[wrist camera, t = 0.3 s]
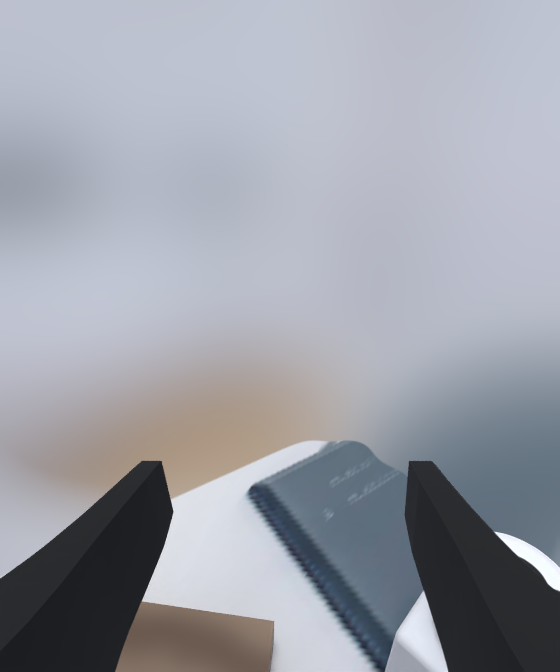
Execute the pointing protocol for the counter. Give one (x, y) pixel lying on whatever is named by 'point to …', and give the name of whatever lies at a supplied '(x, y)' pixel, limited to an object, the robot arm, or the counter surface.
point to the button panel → (195, 641)
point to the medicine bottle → (419, 629)
